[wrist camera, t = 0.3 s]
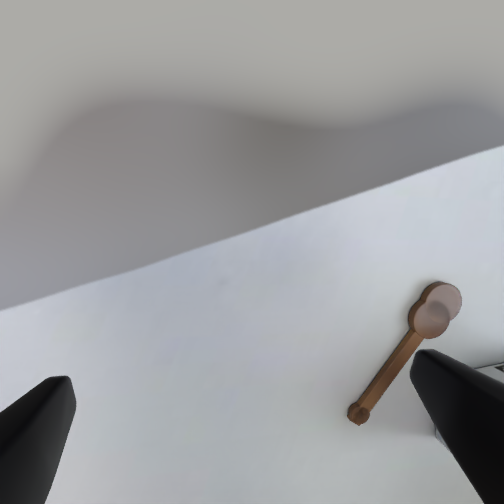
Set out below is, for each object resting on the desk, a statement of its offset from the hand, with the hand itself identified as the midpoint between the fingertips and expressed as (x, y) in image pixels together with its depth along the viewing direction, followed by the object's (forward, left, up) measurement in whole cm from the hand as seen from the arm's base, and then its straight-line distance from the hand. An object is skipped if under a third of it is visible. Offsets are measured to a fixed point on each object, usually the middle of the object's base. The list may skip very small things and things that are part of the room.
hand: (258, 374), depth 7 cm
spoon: (+2, -17, -15) cm, 23 cm away
